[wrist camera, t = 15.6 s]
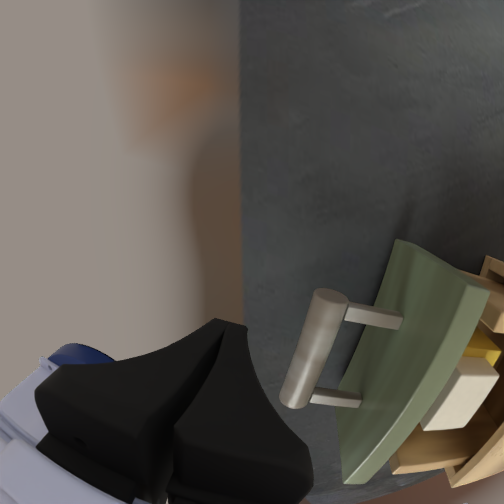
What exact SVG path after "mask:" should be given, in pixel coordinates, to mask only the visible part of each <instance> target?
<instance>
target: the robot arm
mask: <svg viewBox="0 0 504 504" xmlns="http://www.w3.org/2000/svg"><path fill="white" fill-rule="evenodd" d="M247 331H248V329H247V327H246V326H244V325H240V324H236V323H232V322H228V321H224V320H220V319H217V318H214V319H213V320H211V321H210V322H208V323H207V324H205V325H204V326H202V327H201V328H199V329H197V330H196V331H194V332H193V333H191V334H189V335H188V336H186V337H184V338H182V339H181V340H179V341H177V342H175V343H173V344H171V345H169V346H167V347H164V348H162V349H159V350H157V351H154V352H151V353H148V354H145V355H142V356H138V357H133V358H129V359H126V360H120V361H114V362H107V363H98V364H62V365H61V366H60V367H59V366H58V365H56V364H55V363H53V362H51V361H50V360H48V359H46V358H45V357H43V356H42V357H40V358H39V362H40V367H39V368H37V369H36V370H35V371H34V372H33V373H31V374H30V375H29V376H28V377H27V378H26V379H24V380H23V381H22V382H21V383H20V384H18V385H17V386H16V387H15V388H14V389H13V390H12V391H10V392H9V393H8V394H7V395H6V396H5V397H4V398H3V399H2V400H1V401H0V504H166V501H167V498H168V504H299V502H300V501H302V499H303V498H304V497H305V496H306V495H307V494H308V493H309V492H310V491H311V489H312V487H313V481H314V475H313V467H312V462H311V457H310V453H309V449H308V446H307V445H306V444H305V443H304V442H303V441H302V440H301V439H300V438H299V437H298V436H297V435H296V434H295V433H294V432H293V431H292V430H291V429H290V428H289V427H288V426H287V425H286V424H285V423H284V421H283V420H282V419H281V418H280V416H279V415H278V413H277V412H276V410H275V409H274V407H273V406H272V405H271V403H270V402H269V400H268V398H267V396H266V395H265V393H264V391H263V389H262V387H261V385H260V383H259V380H258V378H257V376H256V373H255V370H254V367H253V364H252V361H251V357H250V353H249V348H248V341H247ZM464 504H468V503H464Z"/></svg>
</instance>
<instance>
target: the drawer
mask: <svg viewBox="0 0 504 504" xmlns="http://www.w3.org/2000/svg"><path fill="white" fill-rule="evenodd" d="M343 318H344V320H346V321H351V322H357V323H362V324H366V327H365V329H364V332H363V334H362V336H361V339H360V341H359V344H358V346H357V348H356V350H355V353H354V355H353V357H352V359H351V362H350V364H349V366H348V368H347V370H346V372H345V374H344V376H343V378H342V381H341V383H340V385H339V387H338V389H337V390H334V389H327V388H320V387H315V386H316V383H317V381H318V379H319V377H320V374H321V372H322V370H323V367H324V365H325V363H326V360H327V358H328V355H329V353H330V351H331V348H332V346H333V343H334V341H335V338H336V335H337V333H338V330H339V328H340V325H341V322H342V319H343ZM476 326H477V327H478V328H479V329H480V330H481V331H482V332H483V333H484V334H485V335H486V336H487V337H488V338H489V339H490V340H491V341H492V342H493V343H494V344H495V345H496V346H497V347H498V348H499V349H500V350H501V353H500V355H499V357H498V359H497V361H496V363H495V364H494V366H493V368H494V369H495V370H496V372H497V373H498V374H499V378H498V380H497V381H496V383H495V384H494V386H493V388H492V389H491V391H490V392H489V394H488V395H487V397H486V398H485V400H484V401H483V402H482V404H481V405H480V407H479V408H478V409H477V411H476V412H475V414H474V415H473V416H472V418H471V419H470V420H469V421H468V423H467V424H466V425H465V426H464V427H462V428H454V429H444V430H430V431H424V430H423V429H422V427H421V424H420V421H421V419H422V418H423V416H424V415H425V414H426V412H427V411H428V410H429V408H430V407H431V405H432V404H433V402H434V401H435V399H436V398H437V396H438V395H439V393H440V392H441V390H442V389H443V387H444V385H445V384H446V382H447V381H448V379H449V377H450V376H451V374H452V372H453V371H454V369H455V367H456V365H457V364H458V362H459V360H460V358H461V356H462V354H463V353H464V351H465V349H466V347H467V345H468V343H469V341H470V339H471V337H472V335H473V333H474V330H475V328H476ZM279 399H280V401H281V402H282V403H283V404H284V405H285V406H287V407H289V408H293V409H299V408H303V407H304V406H306V405H307V403H308V401H309V402H311V403H318V404H325V405H333V406H335V412H336V420H337V428H338V437H339V446H340V456H341V466H342V477H343V484H364V483H366V482H367V481H368V480H369V479H370V478H371V477H372V476H373V475H374V474H375V473H376V472H377V471H378V470H379V469H380V468H381V467H382V466H383V465H384V464H385V463H386V461H387V460H388V459H389V463H390V467H391V471H392V474H403V473H412V472H420V471H427V470H434V469H440V468H445V467H450V466H455V465H459V464H464V463H468V462H469V461H470V460H471V459H472V458H473V456H474V455H475V454H476V453H477V452H478V451H479V450H480V449H481V448H482V447H483V446H484V445H485V443H486V442H487V441H488V440H489V439H490V438H491V436H492V435H493V434H494V433H495V432H496V430H497V429H498V428H499V427H500V425H501V424H502V423H503V422H504V284H503V283H500V282H497V281H494V280H491V279H488V278H484V277H481V276H478V275H475V274H472V273H468V272H465V271H462V270H458V269H456V268H454V267H453V266H451V265H450V264H448V263H446V262H445V261H443V260H441V259H440V258H438V257H436V256H435V255H433V254H431V253H429V252H428V251H426V250H424V249H423V248H421V247H419V246H417V245H415V244H414V243H410V242H407V241H403V240H400V239H395V242H394V246H393V249H392V253H391V256H390V259H389V262H388V266H387V269H386V272H385V275H384V278H383V281H382V284H381V287H380V290H379V292H378V295H377V298H376V301H375V303H374V306H369V305H364V304H359V303H354V302H350V301H349V300H348V298H347V297H346V296H345V295H343V294H342V293H340V292H338V291H335V290H332V289H327V288H318V289H316V290H315V291H314V293H313V296H312V299H311V303H310V306H309V309H308V312H307V316H306V319H305V322H304V325H303V328H302V331H301V334H300V337H299V340H298V343H297V346H296V349H295V352H294V355H293V358H292V361H291V363H290V366H289V369H288V372H287V375H286V377H285V380H284V383H283V385H282V388H281V391H280V393H279Z"/></svg>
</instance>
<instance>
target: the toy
mask: <svg viewBox="0 0 504 504" xmlns="http://www.w3.org/2000/svg"><path fill="white" fill-rule="evenodd" d="M500 353H501V350H500V349H499V348H498V347H497V346H496V345H495V344H494V343H493V342H492V341H491V340H490V339H489V338H488V337H487V336H486V335H485V334H484V333H483V332H482V331H481V330H480V329H479V328H478V327H477V326H476V328H475V330H474V333H473V335H472V337H471V339H470V341H469V343H468V345H467V347H466V349H465V351H464V353H463V354H462V356H461V358H460V360H459V362H458V364H457V365H456V367H455V369H454V371H453V372H452V374H451V376H450V377H449V379H448V381H447V382H446V384H445V385H444V387H443V389H442V390H441V392H440V393H439V395H438V396H437V398H436V399H435V401H434V402H433V404H432V405H431V407H430V408H429V410H428V411H427V412H426V414H425V415H424V416H423V418H422V419H421V421H420V424H421V427H422V429H423V430H424V431H430V430H444V429H454V428H462V427H464V426H465V425H466V424H467V423H468V421H469V420H470V419H471V418H472V416H473V415H474V414H475V412H476V411H477V409H478V408H479V407H480V405H481V404H482V402H483V401H484V400H485V398H486V397H487V395H488V394H489V392H490V391H491V389H492V388H493V386H494V384H495V383H496V381H497V380H498V378H499V374H498V373H497V372H496V370H495V369H494V368H493V366H494V364H495V363H496V361H497V359H498V357H499V355H500Z"/></svg>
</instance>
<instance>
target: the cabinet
mask: <svg viewBox="0 0 504 504" xmlns="http://www.w3.org/2000/svg"><path fill="white" fill-rule="evenodd" d="M479 276H481V277H484V278H488V279H491V280H494V281H497V282H500V283H503V284H504V262H503V261H500V260H497V259H495V258H492V257H490V256H486V257H485V260H484V263H483V266H482V269H481V272H480V275H479ZM445 471H446V474H447V476H448V479H449V482H450V485H451V488H454V487H457V486H460V485H464V484H468V483H471V482H474V481H477V480H480V479H483V478H486V477H488V476H491V475H493V474H496V473H499V472H501V471H504V422H503V423H502V424H501V425H500V427H499V428H498V429H497V430H496V432H495V433H494V434H493V435H492V436H491V438H490V439H489V440H488V441H487V442H486V443H485V445H484V446H483V447H482V448H481V449H480V450H479V451H478V452H477V453H476V454H475V455H474V456H473V458H472V459H471V460H470V461H469V462H468V463H464V464H459V465H455V466H450V467H445Z"/></svg>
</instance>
